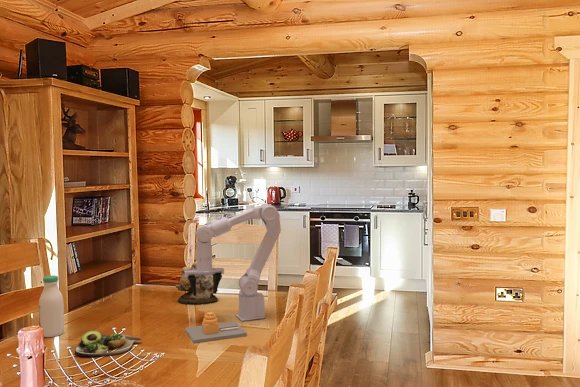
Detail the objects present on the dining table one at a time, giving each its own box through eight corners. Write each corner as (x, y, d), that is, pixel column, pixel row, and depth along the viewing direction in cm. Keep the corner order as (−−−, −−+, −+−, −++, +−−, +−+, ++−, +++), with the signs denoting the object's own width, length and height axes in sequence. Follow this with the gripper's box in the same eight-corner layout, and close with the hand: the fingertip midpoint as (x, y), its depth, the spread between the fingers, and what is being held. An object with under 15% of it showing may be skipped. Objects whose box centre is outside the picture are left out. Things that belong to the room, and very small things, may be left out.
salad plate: (143, 336, 166) (143, 322, 166) (139, 355, 149) (139, 340, 148) (83, 340, 162) (82, 327, 162) (71, 360, 144) (71, 345, 144)
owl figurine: (173, 305, 204) (172, 265, 203) (178, 298, 215) (177, 260, 215) (216, 304, 205) (216, 264, 204) (219, 297, 217) (218, 259, 216)
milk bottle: (69, 331, 170) (68, 275, 169) (52, 338, 163) (50, 279, 162) (52, 329, 173) (50, 273, 172) (34, 336, 165) (32, 278, 165)
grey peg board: (235, 324, 177) (235, 312, 177) (246, 335, 164) (246, 323, 164) (185, 330, 170) (185, 318, 170) (193, 343, 158) (193, 330, 157)
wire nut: (215, 329, 169) (215, 310, 169) (218, 332, 165) (218, 313, 164) (202, 330, 167) (202, 311, 167) (205, 334, 163) (205, 315, 163)
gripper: (186, 261, 175) (187, 298, 175) (226, 258, 180) (226, 294, 181) (183, 258, 181) (183, 294, 182) (221, 255, 187) (221, 290, 187)
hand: (204, 294), depth 182 cm, fingers open, 7 cm apart
